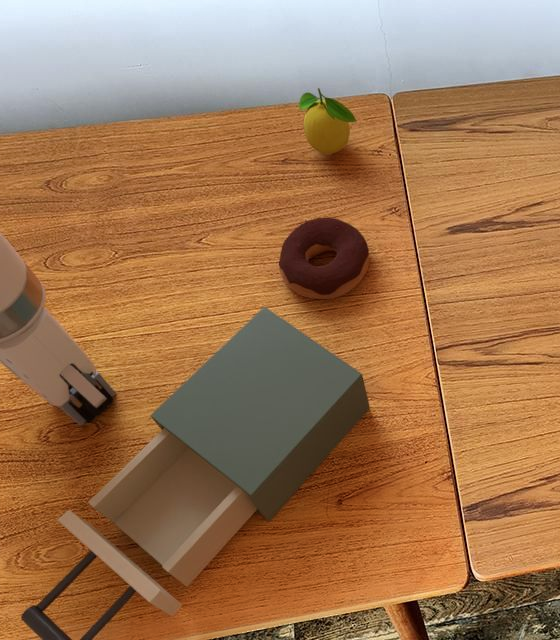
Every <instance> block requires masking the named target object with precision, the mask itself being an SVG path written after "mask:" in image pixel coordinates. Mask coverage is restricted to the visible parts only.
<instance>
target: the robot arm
mask: <svg viewBox="0 0 560 640" xmlns="http://www.w3.org/2000/svg"><path fill="white" fill-rule="evenodd" d="M46 296H47V293H46V288H45V286H44V284H43V283H42V281H41V280H40V278H39V277H38V276H37V275H36V274H35V272H33V270H32V269H31V268H30V266H29V265H28V263H26V261H25V260H24V259H23V258H22V256H21V255H20V254H19V253H18V252H17V251H16V250H15V247H13V246H12V244H11V243H10V242H9V241H8V239H7V238H6V237H5V236H4V235H3V233H2V232H1V231H0V364H2V365H3V367H5V368H6V369H7V370H8V371H10V373H12V374H13V375H14V376H16V378H18V379H19V380H20V381H22V382H23V383H24V384H25V385H26V386H27V387H29V388H30V389H31V390H32V391H33V392H35V393H36V394H37V395H38V396H39V397H41V398H42V399H43V400H44V401H46V402H47V403H49V404H50V405H51V406H53V407H57V406H62V405H63V404H64V403H66V402H67V401H68V400H70V403H69V404H70V405H71V406H72V407H73V408H74V409H75V410H76V411H77V412H78V413H79V414H80V415H81V416H82V417H83V418H84V419H85V420H86V422H87V423H91V422H92V421H94V420H95V419H96V418H97V417H99V416H101V415H102V414H103V413H104V412H105V411H106V410H108V408H109V406H110V405H111V404H113V402H114V398H113V397H112V396H111V395H110V394H109V393H108V392H107V391H106V390H105V388H104V387H103V386H102V385H101V384H100V383H99V382H98V381H97V380H96V379H95V380H94V379H93V377H92V375H94V376H96V371H97V367H96V365H95V364H94V362H93V361H92V360H91V359H90V357H89V356H88V355H87V354H86V353H85V351H84V350H83V349H82V348H81V347H80V346H79V344H78V343H77V342H76V341H75V339H74V338H73V337H72V336H71V334H69V333H68V332H67V330H66V329H65V328H64V327H63V326H62V324H60V321H58V320H57V319H56V318H55V317H54V316H53V314H51V312H50V311H49V310H48V309H47V308H46V307H45V304H46V299H47V297H46ZM72 388H74V389H75V390H76V391H77V392H76V393H74V394H72V393H71V392H70V391H69V390H70V389H72Z"/></svg>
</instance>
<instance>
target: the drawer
mask: <svg viewBox="0 0 560 640" xmlns="http://www.w3.org/2000/svg"><path fill="white" fill-rule="evenodd" d="M87 504H88V505H90V506H91V507H92V508H93V509H94V510H96V511H97V512H99V514H101V515H103V517H105V519H107V520H108V521H110V522H111V523H112V524H114V525H115V526H116V527H117V528H118V529H120V531H121V532H123V533H124V534H125V535H127V537H129V538H130V539H131V540H132V541H133V542H135V543H136V544H137V545H138V546H139V547H140V548H141V549H142V550H144V551H145V552H146V553H147V554H148V555H149V556H151V558H153V559H154V560H155V561H156V562H157V563H158V564H160V565H161V568H162V569H163V570H164V571H166V573H168V574H170V576H172V577H173V578H175V579H176V580H177V581H178V582H180V583H181V584H183V585H184V586H185V587H186V588H188V587H189V586H190V585H191V584H192V583H193V581H195V579H197V577H198V576H199V575H200V573H201V572H202V571H203V570H205V568H206V567H207V566H208V565H209V564H210V563H211V562H212V560H213V559H214V558H215V557H216V556H217V555H218V554H219V553H220V552H221V550H223V548H224V547H225V546H226V545H227V544H228V542H230V540H231V539H232V538H233V537H234V536H235V535H236V534H237V533H238V531H239V530H240V529H241V528H242V527H243V526H244V525H245V524H246V522H247V521H248V520H250V518H251V517H252V516H253V515H254V514H255V513H256V510H257V507H256V506H255V505H254V503H253V502H252V500H251V499H250V498H249V496H248V495H247V493H245V492H244V491H243V490H242V489H240V488H239V487H238V486H237V485H235V484H234V483H233V482H231V481H230V480H229V479H228V478H226V477H225V476H224V475H223V474H221V473H220V472H219V471H218V470H216V469H215V468H214V467H213V466H211V465H210V464H209V463H208V462H206V461H205V460H204V459H202V458H201V457H200V456H199V455H197V454H196V453H195V452H194V451H192V450H191V449H190V448H189V447H187V446H186V445H185V444H184V443H182V442H181V441H180V440H179V439H177V438H176V437H175V436H173V435H172V434H171V433H170V432H168V431H167V430H166V429H165V428H164V429H163V430H160V431H159V432H158V433H157V434H156V436H154V437H153V438H152V439H151V440H150V441H149V442H148V443H147V444H145V446H144V447H142V449H141V450H140V451H139V452H137V454H136V455H134V457H133V458H131V459H130V461H129V462H127V463H126V464H125V466H124V467H123V468H121V469H120V470H119V471H118V472H117V473H116V474H115V475H114V476H113V477H112V478H111V479H110V480H109V481H108V482H107V483H106V484H105V485H103V487H102V488H101V489H100V490H99V491H98V492H96V493H95V495H94V496H92V498H90V499H89V500H88V501H87ZM57 522H59V524H61V525H62V526H63V527H64V528H65V529H66V530H68V531H69V532H70V533H71V534H72V535H73V536H74V537H75V538H77V539H78V541H80V542H81V543H82V544H83V545H84V546H85V547H86V548H88V550H90V551H89V552H88V553H87V554H86V555H84V557H83V558H82V559H81V560H80V561H79V562H78V563H77V564H76V565H75V566H74V567H73V568H72V569H70V571H69V572H68V573H67V574H66V575H65V576H64V577H63V578H62V579H61V580H60V581H59V582H58V583H57V584H56V586H54V587H53V588H52V590H50V591H49V592H48V593H47V594H46V595H45V596H44V597H43V598H42V600H41V601H40V602H38V603H37V605H35V604H34V605H31V606H29V607H28V608H26V609H25V610H24V611H23V612H22V614H21V617H20V619H21V621H22V622H23V623H24V624H25V625H27V627H28V628H30V629H31V631H32V632H33V633H34V634H36V635H37V636H38V637H39V638H40V639H41V640H73V639H72V638H71V637H70V636H69V635H68V634H67V633H66V632H65V631H64V630H63V629H62V628H61V627H59V625H58V624H57V623H55V622H54V620H52V619H51V617H49V616H48V614H46V613H45V611H46V610H47V609H48V607H50V606H51V605H52V604H53V603H54V602H55V601H56V600H57V598H59V596H60V595H61V594H62V593H63V592H64V591H66V589H67V588H68V587H69V586H70V585H71V584H72V583H74V582H75V580H76V579H77V578H78V577H79V576H81V574H82V573H83V572H84V571H85V570H86V569H87V568H88V567H89V566H90V565H91V564H92V563H93V562H94V561H95V560H96V559H97V558H99V559H100V560H101V561H102V562H103V563H104V564H105V565H106V566H108V568H109V569H111V570H112V571H113V572H114V573H115V574H116V575H118V576H119V577H120V578H121V579H122V580H123V581H124V582H125V583H127V584H128V585H129V587H128V588H127V589H126V590H125V591H124V592H123V593H122V594H121V595H120V596H119V598H117V599H116V601H115V602H113V603H112V605H111V606H110V607H109V608H108V609H107V610H106V611H105V612H104V613H103V614H102V615H101V617H99V618H98V620H96V622H94V624H93V625H92V626H91V627H90V628H89V629H88V630H87V631H86V632H85V633H84V634H83V635H82V636H81V638H79V640H94V638H96V636H97V635H98V634H99V633H100V632H101V631H102V630H104V628H105V627H106V626H107V625H108V624H109V622H110V621H111V620H112V619H113V618H114V617H115V616H116V615H117V614H118V613H119V612H120V611H121V609H122V608H123V607H124V606H125V605H126V604H127V603H128V602H129V601H130V600H131V599H132V598H133V596H134V595H136V594H137V593H138V595H140V596H141V598H143V599H144V600H146V602H148V603H149V604H151V605H152V606H154V607H155V608H157V609H159V610H160V611H162V612H163V613H165V614H167V615H168V616H170V617H173V616H175V614H176V613H177V612H178V611H179V610H180V609H181V608H182V606H183V604H182V603H181V602H180V601H178V599H176V598H175V597H174V596H173V595H172V594H171V593H170V592H168V591H167V590H166V589H165V588H164V587H163V586H161V584H159V583H158V582H157V581H156V580H155V579H154V578H153V577H152V576H150V575H149V573H147V572H146V571H145V570H143V569H142V568H141V567H140V566H139V565H138V564H137V563H136V562H134V561H133V560H132V559H131V558H130V557H129V556H128V555H126V553H124V551H123V550H121V549H120V548H118V547H117V546H116V545H115V544H114V543H113V542H112V541H110V540H109V538H107V537H106V536H105V535H104V534H102V533H101V531H99V530H98V529H97V528H95V527H94V526H93V525H92V524H90V523H89V522H88V521H86V520H84V519H83V518H82V517H80V516H79V515H78V514H76V513H75V512H74V511H72V510H70V509H68V510H66V511H65V512H64V513H63V514H62V515H61V516H60V517H59V518H58V519H57Z"/></svg>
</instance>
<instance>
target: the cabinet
mask: <svg viewBox="0 0 560 640" xmlns="http://www.w3.org/2000/svg"><path fill="white" fill-rule="evenodd" d="M364 380H365V379H364V376H363V373H362V372H360V371H359V370H357V369H356V368H354V367H353V366H352V365H351V364H350V363H349V364H348V363H347V362H346V361H344V360H343V359H341V358H340V357H338V356H337V355H336V354H334V353H333V352H331V351H330V350H328V349H327V348H325V347H324V346H322V345H321V344H320V343H319V342H317V341H315V340H314V339H312V338H311V337H310V336H308V335H306V334H305V333H303V332H302V331H301V330H299V329H297V327H295V326H293V324H290V323H289V322H288V321H286V320H284V318H282V317H280V316H279V315H278V314H276V313H275V312H273V311H272V310H270V309H269V308H267V307H266V306H263V308H261V309H260V310H259V311H258V312H257V313H256V314H255V315H254V316H253V317H252V318H251V319H250V320H249V321H248V322H246V324H245V325H244V326H242V327H241V328H240V329H239V330H238V331H237V332H236V333H234V335H233V336H232V337H231V338H230V339H229V340H228V341H226V343H224V344H223V346H221V347H220V348H219V349H218V350H217V351H216V352H215V353H214V354H213V355H212V356H211V357H210V358H209V359H208V360H207V361H206V362H205V363H203V365H202V366H200V368H198V369H197V370H196V371H195V372H193V374H192V375H191V376H189V378H188V379H186V380H185V382H184V383H183V384H181V385H180V386H179V387H178V388H177V389H176V390H175V391H174V392H173V393H172V394H171V395H170V396H169V397H168V398H167V399H165V401H163V402H162V403H161V405H159V406H158V407H157V408H156V409H155V410H154V411H153V412H152V413H150V418H151V419H152V420H153V421H154V423H156V425H157V426H158V427H159V429H160V431H162V430H163V429H164V428H165V429H166V430H167V431H168V432H170V433H171V434H172V435H173V436H175V437H176V438H177V439H179V440H180V441H181V442H182V443H184V444H185V445H186V446H187V447H189V448H190V449H191V450H192V451H194V452H195V453H196V454H197V455H199V456H200V457H201V458H202V459H204V460H205V461H206V462H208V463H209V464H210V465H211V466H213V467H214V468H215V469H216V470H218V471H219V472H220V473H221V474H223V475H224V476H225V477H226V478H228V479H229V480H230V481H231V482H233V483H234V484H235V485H237V486H238V487H239V488H240V489H242V490H243V491H244V492H245V493H247V495H248V496H249V498H250V499H251V500H252V502H253V503H254V505H255V506H256V507H257V510H256V511H255V513H257V514H259V515H260V516H261V517H262V518H263V519H264V520H266V521H267V522H271V521H272V520H273V519H274V517H275V516H276V515H277V514H278V513H279V512H280V511H281V510H282V509H283V507H284V506H285V505H286V504H287V503H288V502H289V501H290V499H291V498H292V497H293V496H294V495H295V494H296V493H297V491H298V490H299V489H300V488H301V487H302V486H303V485H304V484H305V482H306V481H307V480H308V479H309V478H310V477H311V476H312V475H313V473H314V472H315V471H316V470H317V469H318V468H319V466H320V465H321V464H322V463H323V462H324V461H325V460H326V459H327V458H328V456H329V455H330V454H331V453H332V452H333V451H334V449H336V448H337V446H338V445H339V444H340V443H341V442H342V440H343V439H344V438H345V437H347V435H348V434H349V432H350V431H351V430H353V428H354V427H355V426H356V424H357V423H358V422H359V421H360V420H361V419H362V418H363V417H364V416H365V414H366V413H367V412H368V411H369V410H370V409H371V408H370V403H369V398H368V393H367V390H366V385H365V384H366V383H365V381H364Z"/></svg>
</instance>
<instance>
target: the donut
mask: <svg viewBox="0 0 560 640" xmlns="http://www.w3.org/2000/svg"><path fill="white" fill-rule="evenodd" d="M329 251H330V252H335V253H336V255H335V257H334V258H333V259H332V260H331V261H330V262H328V263H326V264H325V265H319V266H317V265H316V266H315V265H313V264H311V263H310V261H309V260H310V259H312V258H313V257H315V256H317V255H320V254H322V253H325V252H329ZM369 262H370V249H369V245H368V242H367V241H366V239H365V237H364V235H363V234H362V233H361V232H360V231H359V229H357V228H356V227H355V226H353V225H352V224H350V223H348V222H346V221H343V220H342V219H338V218H334V217H329V216H328V217H318V218H314V219H309V220H306V221H304V222H303V223H302V224H300V225H298V226H297V227H296V228H295V229H293V230H292V231H291V232H290V234H289V235H288V236H287V237H286V238H285V240H284V241H283V243H282V244H281V250H280V256H279V260H278V267H279V272H280V276H281V279H282V281H283V282H284V284H285V285H286V286H287V287H288V288H289V289H290V290H291V291H293V292H294V293H296V294H298V295H299V296H302V297H305V298H309V299H315V300H326V299H335V298H338V297H339V298H340V297H343V296H344V295H346V294H347V293H349V292H350V291H352V290H353V289H354V288H355V287H356V286H357V285H358V284H359V283H360V282H361V281H362V280H363V278H364V276H365V275H366V274H367V272H368V269H369V264H370V263H369Z"/></svg>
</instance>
